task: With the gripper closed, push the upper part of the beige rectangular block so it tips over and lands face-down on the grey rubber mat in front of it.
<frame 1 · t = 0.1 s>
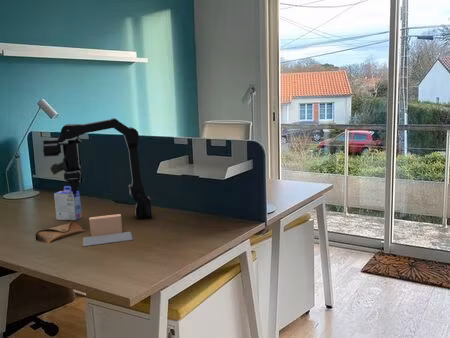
hand: (74, 191, 187), 15 cm above the table, tool pointing down, fingers open, 9 cm apart
ink cartridge box: (69, 218, 200), on the table
beige rectangular block: (106, 233, 177), on the table
sunglasses case: (62, 236, 176), on the table
mat: (107, 239, 169), on the table
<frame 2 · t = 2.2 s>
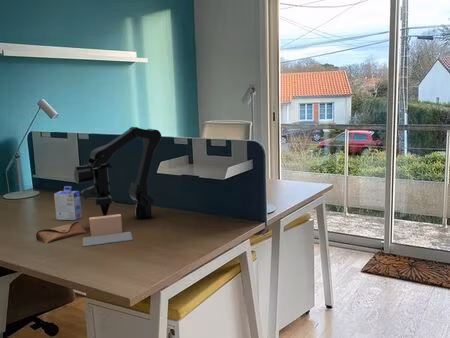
hand: (104, 215, 186), 4 cm above the table, tool pointing down, fingers closed
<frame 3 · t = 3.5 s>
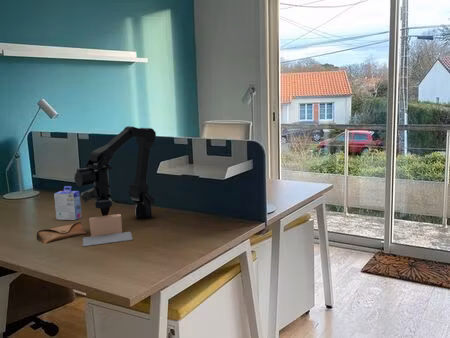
hand: (104, 219, 182), 4 cm above the table, tool pointing down, fingers closed
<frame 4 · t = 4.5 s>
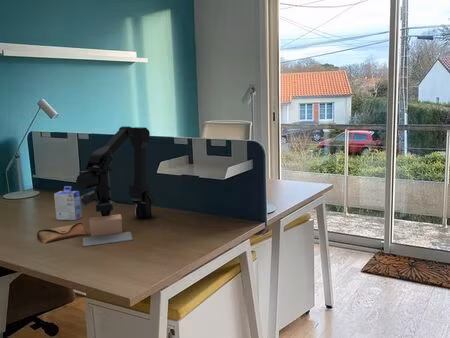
hand: (105, 222, 177), 4 cm above the table, tool pointing down, fingers closed
beige rectangular block: (106, 232, 176), on the table, tilted 20°
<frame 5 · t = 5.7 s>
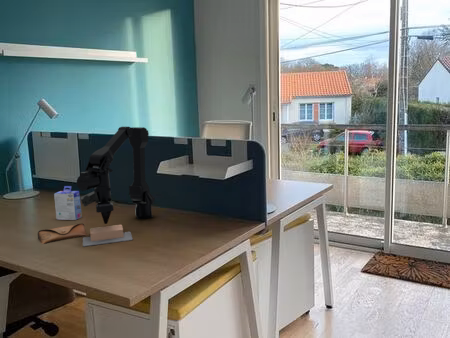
hand: (105, 223, 176), 4 cm above the table, tool pointing down, fingers closed
beige rectangular block: (106, 229, 175), point 2 cm above the table, tilted 90°, touching mat
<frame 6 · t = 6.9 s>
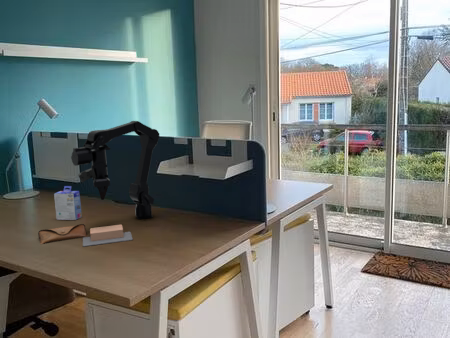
hand: (102, 199, 182), 12 cm above the table, tool pointing down, fingers closed
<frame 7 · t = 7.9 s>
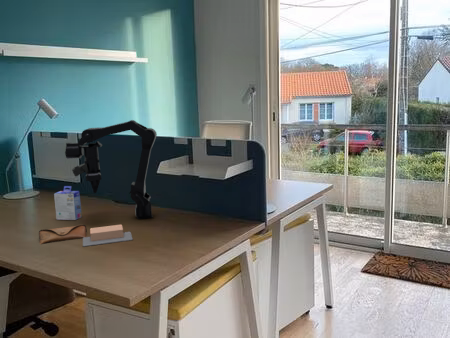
hand: (95, 192, 194), 12 cm above the table, tool pointing down, fingers closed
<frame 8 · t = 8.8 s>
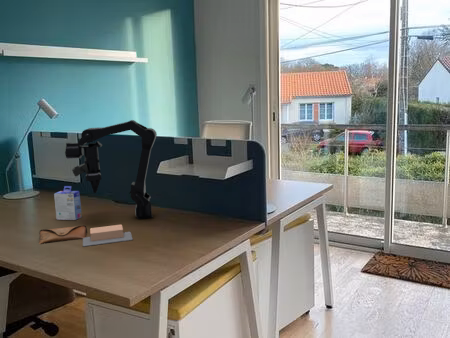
hand: (95, 192, 194), 12 cm above the table, tool pointing down, fingers closed
at the end: beige rectangular block tilted 90°; beige rectangular block inside the target area (4.7 cm from its centre), point 1.8 cm above the table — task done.
